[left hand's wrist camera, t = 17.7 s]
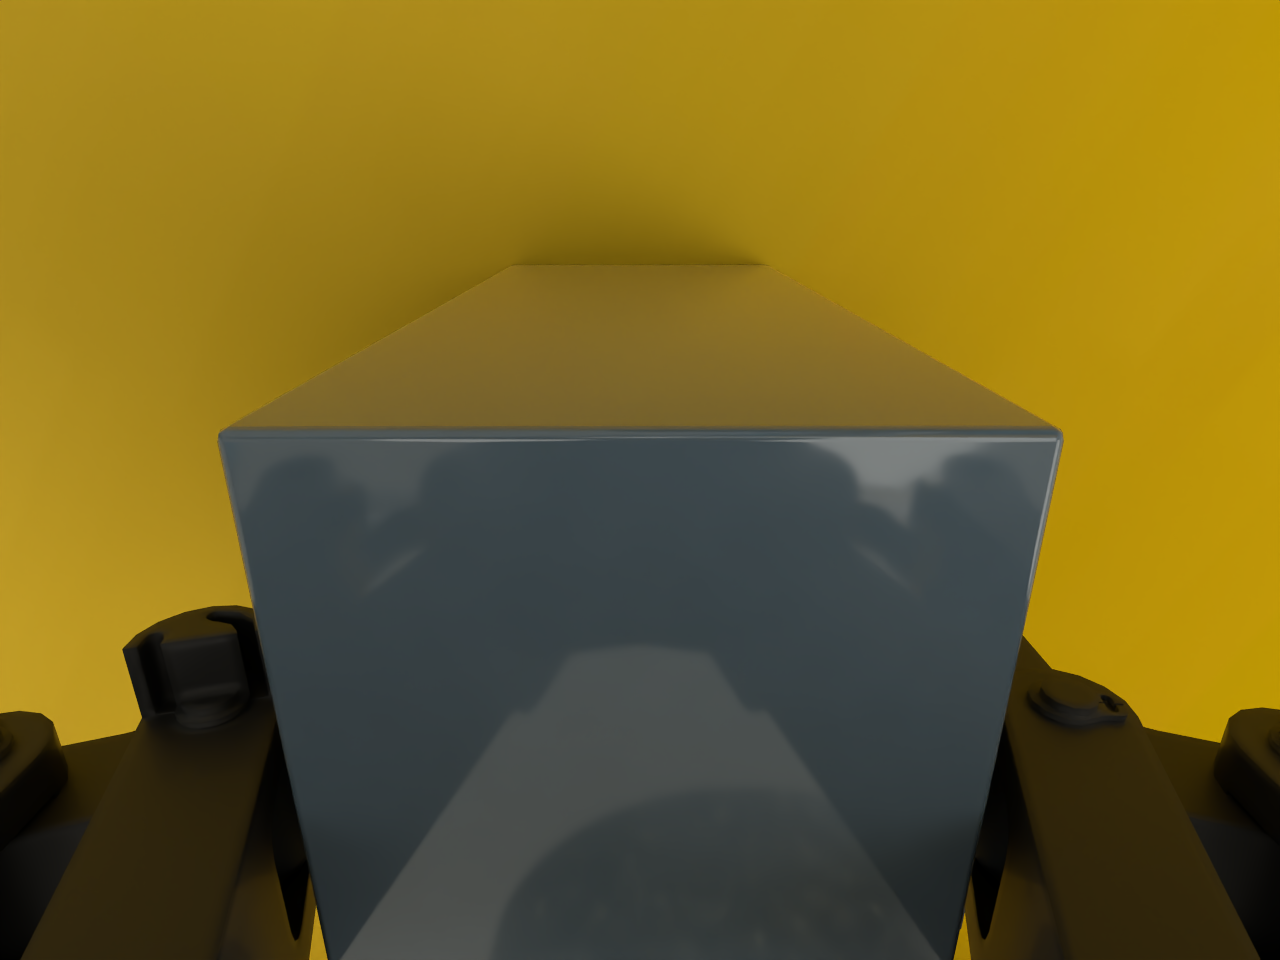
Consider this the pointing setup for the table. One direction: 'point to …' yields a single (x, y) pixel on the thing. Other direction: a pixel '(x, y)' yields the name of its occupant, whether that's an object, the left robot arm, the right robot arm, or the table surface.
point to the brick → (640, 621)
